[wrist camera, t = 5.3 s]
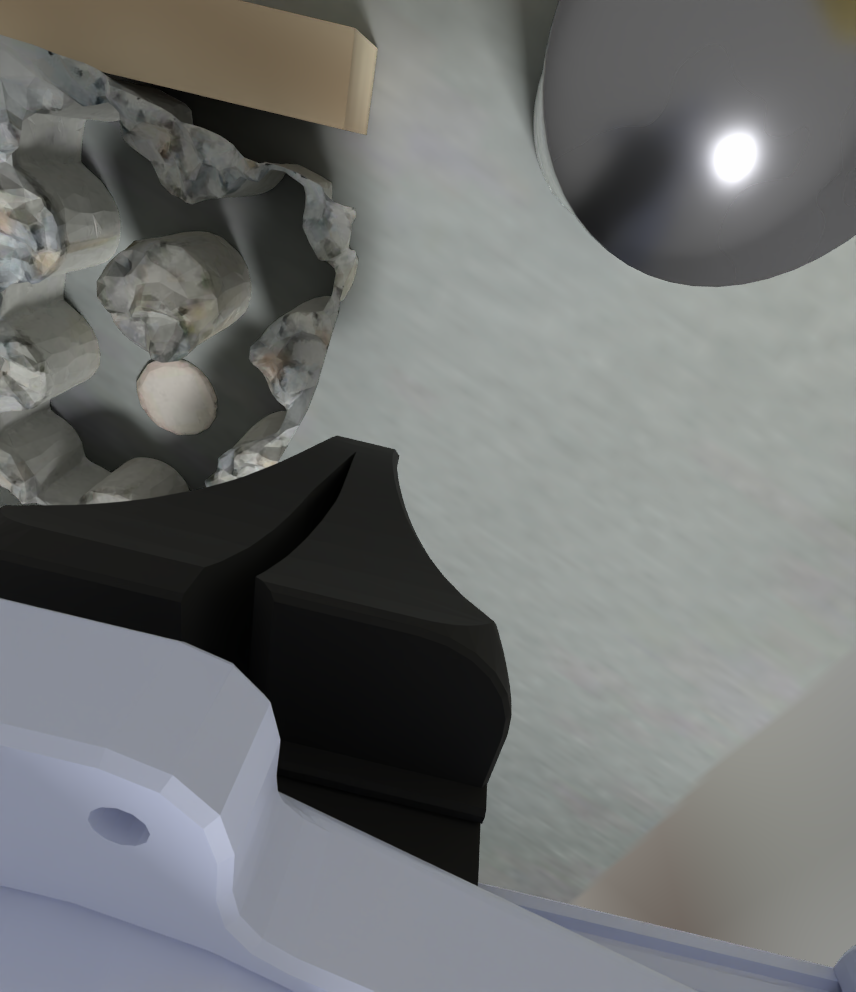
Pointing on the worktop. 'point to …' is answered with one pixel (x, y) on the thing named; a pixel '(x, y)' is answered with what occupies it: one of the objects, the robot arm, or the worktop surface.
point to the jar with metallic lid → (703, 132)
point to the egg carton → (134, 281)
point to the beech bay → (212, 51)
